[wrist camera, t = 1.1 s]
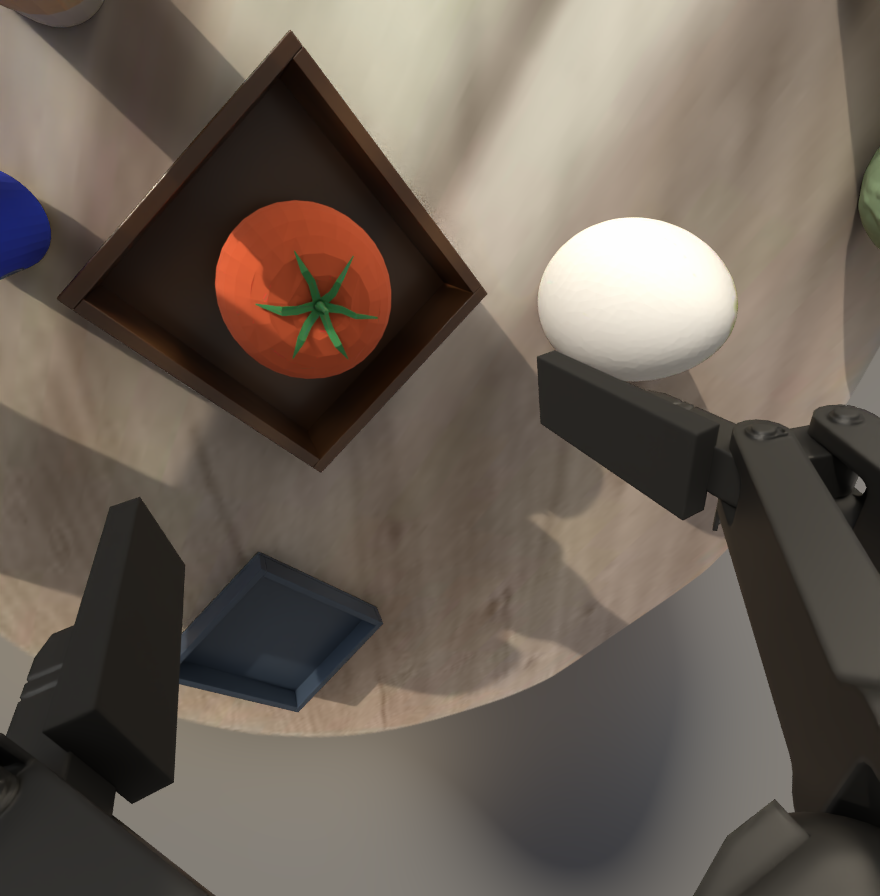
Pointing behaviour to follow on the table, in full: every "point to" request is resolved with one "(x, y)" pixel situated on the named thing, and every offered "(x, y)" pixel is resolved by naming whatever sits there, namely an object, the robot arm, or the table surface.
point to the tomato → (303, 289)
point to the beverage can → (20, 227)
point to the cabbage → (871, 199)
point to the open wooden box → (222, 209)
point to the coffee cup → (55, 10)
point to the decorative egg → (637, 299)
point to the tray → (274, 636)
